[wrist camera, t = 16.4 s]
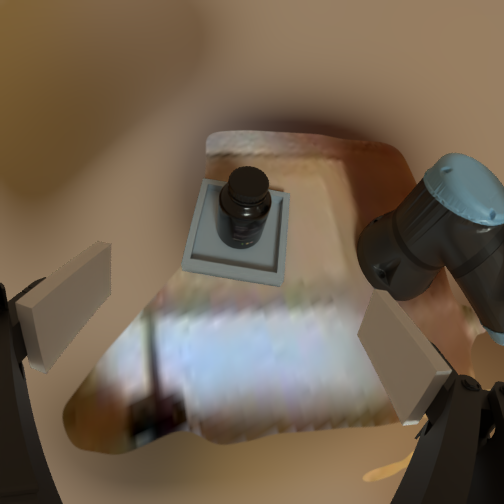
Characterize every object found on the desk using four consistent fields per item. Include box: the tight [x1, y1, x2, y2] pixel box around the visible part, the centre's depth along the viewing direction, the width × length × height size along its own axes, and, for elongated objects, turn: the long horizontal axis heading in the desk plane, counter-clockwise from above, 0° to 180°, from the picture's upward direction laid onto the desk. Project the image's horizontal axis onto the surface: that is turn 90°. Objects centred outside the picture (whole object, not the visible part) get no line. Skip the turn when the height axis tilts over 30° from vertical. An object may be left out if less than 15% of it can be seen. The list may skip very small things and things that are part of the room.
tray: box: [181, 178, 290, 287], centre depth 46 cm, size 14×15×2 cm
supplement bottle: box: [217, 166, 272, 249], centre depth 41 cm, size 7×7×12 cm
